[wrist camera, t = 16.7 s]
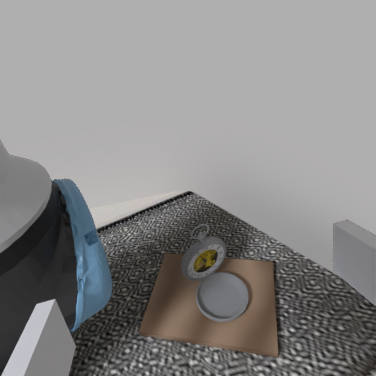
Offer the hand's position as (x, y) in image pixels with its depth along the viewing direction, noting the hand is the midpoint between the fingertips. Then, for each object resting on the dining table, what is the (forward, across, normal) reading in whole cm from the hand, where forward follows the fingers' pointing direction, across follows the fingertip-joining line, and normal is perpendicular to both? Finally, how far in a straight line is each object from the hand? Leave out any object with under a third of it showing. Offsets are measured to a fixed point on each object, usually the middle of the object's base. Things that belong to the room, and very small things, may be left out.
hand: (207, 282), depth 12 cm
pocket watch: (+18, +4, -17) cm, 25 cm away
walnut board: (+18, +3, -18) cm, 25 cm away
